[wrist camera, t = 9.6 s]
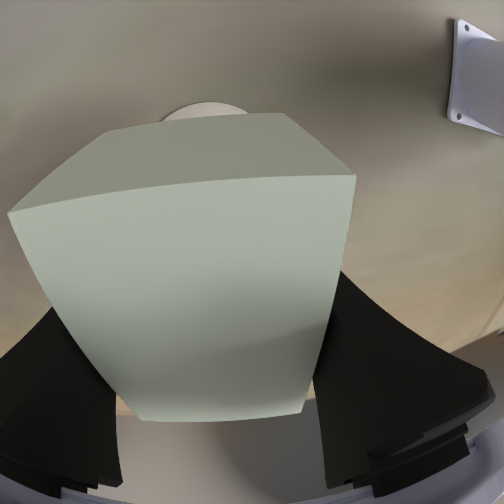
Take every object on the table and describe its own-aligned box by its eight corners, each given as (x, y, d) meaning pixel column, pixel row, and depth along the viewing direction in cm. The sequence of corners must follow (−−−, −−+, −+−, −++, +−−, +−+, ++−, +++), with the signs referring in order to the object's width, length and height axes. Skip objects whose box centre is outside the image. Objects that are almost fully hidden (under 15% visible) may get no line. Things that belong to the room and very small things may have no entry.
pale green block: (283, 112, 8) (356, 175, 4) (277, 304, 13) (300, 412, 9) (105, 131, 8) (7, 213, 4) (155, 312, 13) (141, 420, 9)
